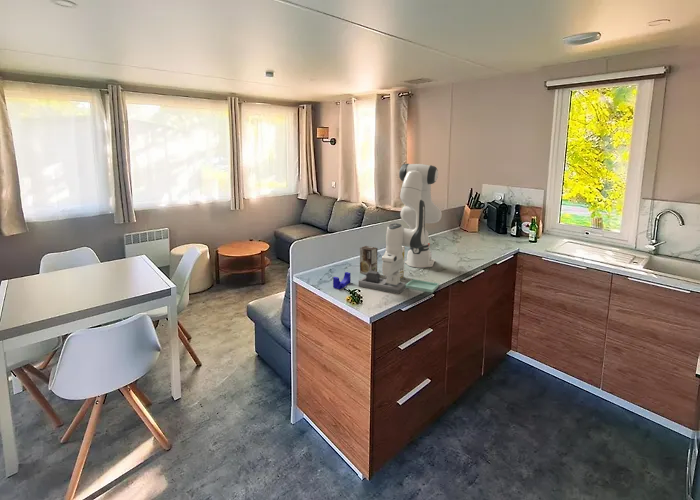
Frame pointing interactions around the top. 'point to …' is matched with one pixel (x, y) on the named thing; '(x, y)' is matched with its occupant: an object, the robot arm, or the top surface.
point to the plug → (394, 279)
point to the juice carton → (401, 270)
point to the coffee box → (368, 259)
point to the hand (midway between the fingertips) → (393, 279)
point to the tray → (422, 285)
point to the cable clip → (344, 282)
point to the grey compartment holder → (380, 283)
